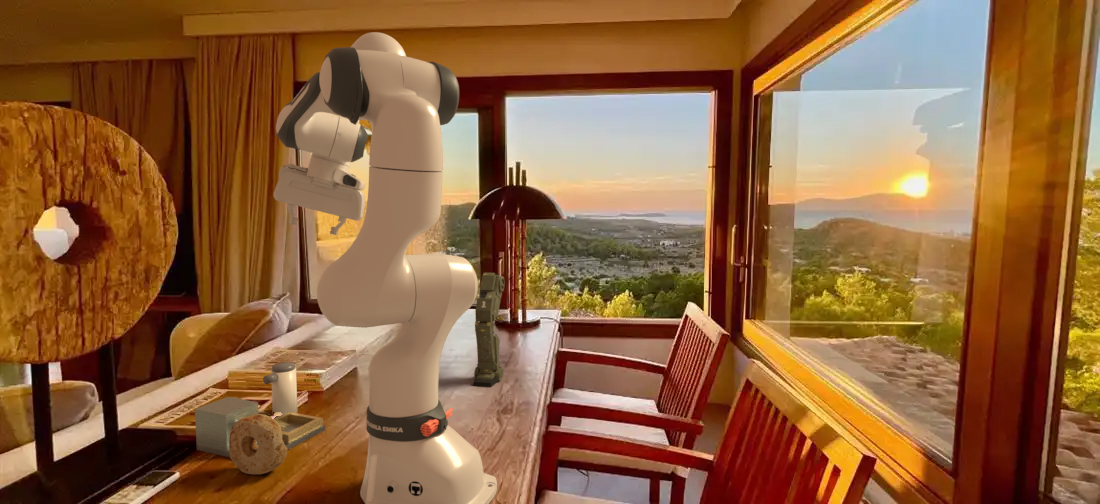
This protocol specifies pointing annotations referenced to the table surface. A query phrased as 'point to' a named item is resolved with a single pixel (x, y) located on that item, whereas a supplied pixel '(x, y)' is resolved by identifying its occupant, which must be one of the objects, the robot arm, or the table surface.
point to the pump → (283, 387)
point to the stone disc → (248, 452)
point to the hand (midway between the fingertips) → (313, 229)
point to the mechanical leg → (488, 331)
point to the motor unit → (226, 412)
